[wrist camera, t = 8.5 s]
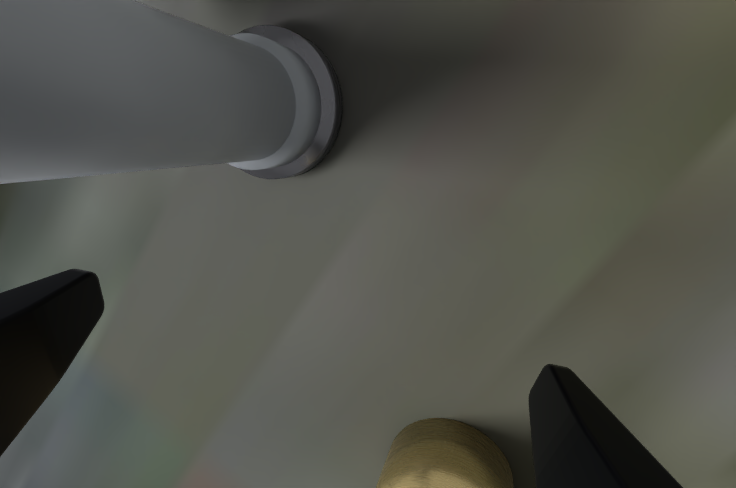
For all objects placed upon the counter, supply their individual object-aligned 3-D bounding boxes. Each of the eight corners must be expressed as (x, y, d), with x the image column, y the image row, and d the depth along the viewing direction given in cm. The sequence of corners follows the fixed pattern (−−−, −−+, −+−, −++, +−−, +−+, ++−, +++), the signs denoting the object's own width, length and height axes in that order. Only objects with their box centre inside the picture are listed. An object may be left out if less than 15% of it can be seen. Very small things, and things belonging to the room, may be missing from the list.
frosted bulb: (342, 80, 17) (-27, -49, 5) (290, 189, 19) (-65, 275, 7) (241, 18, 18) (-284, -218, 6) (201, 130, 20) (-256, 119, 8)
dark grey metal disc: (371, 108, 18) (364, 107, 17) (279, 204, 21) (269, 207, 20) (275, -3, 18) (262, -11, 17) (195, 105, 21) (181, 104, 20)
